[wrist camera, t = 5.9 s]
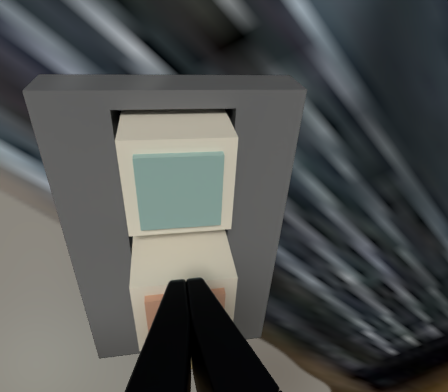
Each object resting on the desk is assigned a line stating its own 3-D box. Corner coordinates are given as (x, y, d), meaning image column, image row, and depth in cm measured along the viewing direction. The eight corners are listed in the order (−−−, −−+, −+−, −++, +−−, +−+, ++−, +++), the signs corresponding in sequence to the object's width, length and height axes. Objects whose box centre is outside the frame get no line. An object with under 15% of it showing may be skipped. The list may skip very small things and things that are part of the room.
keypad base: (289, 75, 14) (307, 89, 13) (253, 311, 23) (260, 337, 22) (39, 74, 13) (22, 90, 11) (103, 328, 22) (99, 358, 20)
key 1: (222, 104, 14) (240, 141, 11) (218, 185, 16) (232, 233, 13) (122, 105, 13) (113, 144, 10) (132, 189, 16) (128, 241, 13)
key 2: (223, 223, 16) (239, 283, 13) (219, 282, 18) (232, 345, 15) (133, 229, 15) (128, 294, 12) (141, 290, 17) (139, 357, 14)
